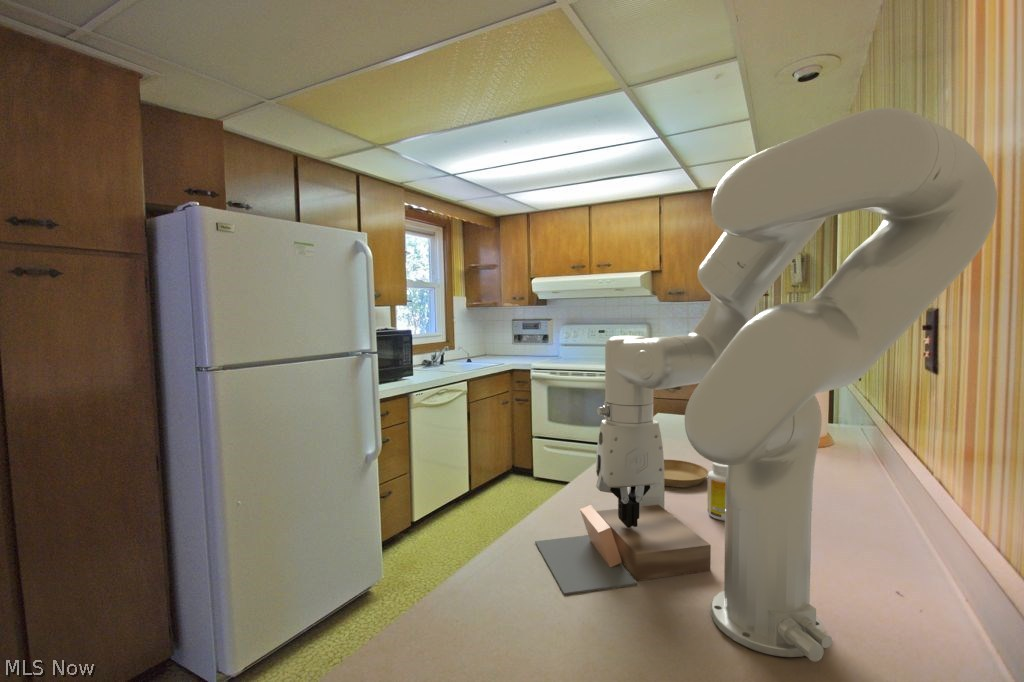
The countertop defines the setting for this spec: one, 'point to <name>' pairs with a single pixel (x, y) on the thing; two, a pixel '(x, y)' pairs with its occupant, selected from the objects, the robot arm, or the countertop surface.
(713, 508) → the supplement bottle
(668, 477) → the plant saucer
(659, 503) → the small box
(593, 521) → the peach rectangular slab
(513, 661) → the countertop surface
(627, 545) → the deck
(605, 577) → the mat
